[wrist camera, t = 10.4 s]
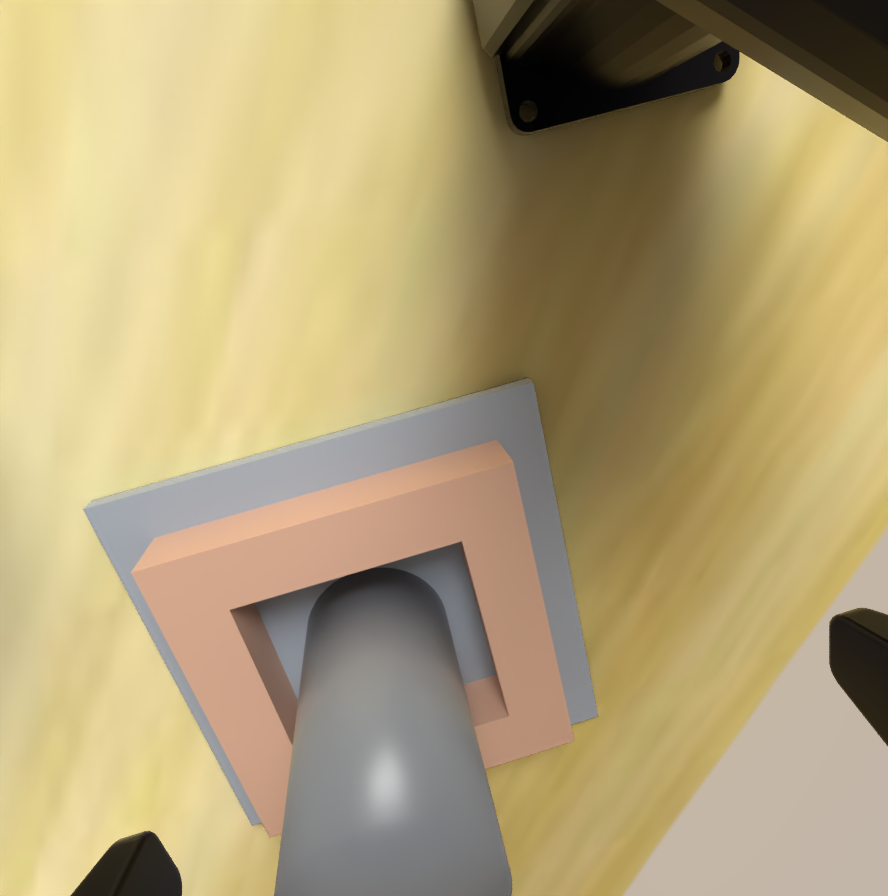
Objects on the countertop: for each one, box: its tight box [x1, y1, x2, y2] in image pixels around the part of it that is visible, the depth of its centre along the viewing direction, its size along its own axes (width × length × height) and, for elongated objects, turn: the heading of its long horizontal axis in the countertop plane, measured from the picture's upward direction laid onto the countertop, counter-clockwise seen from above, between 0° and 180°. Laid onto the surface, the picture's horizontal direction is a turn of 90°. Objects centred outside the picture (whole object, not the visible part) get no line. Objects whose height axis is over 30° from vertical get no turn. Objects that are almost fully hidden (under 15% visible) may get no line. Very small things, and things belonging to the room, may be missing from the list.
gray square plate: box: [83, 378, 598, 838], centre depth 19 cm, size 14×14×3 cm
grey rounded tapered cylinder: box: [274, 568, 512, 896], centre depth 16 cm, size 5×5×9 cm
